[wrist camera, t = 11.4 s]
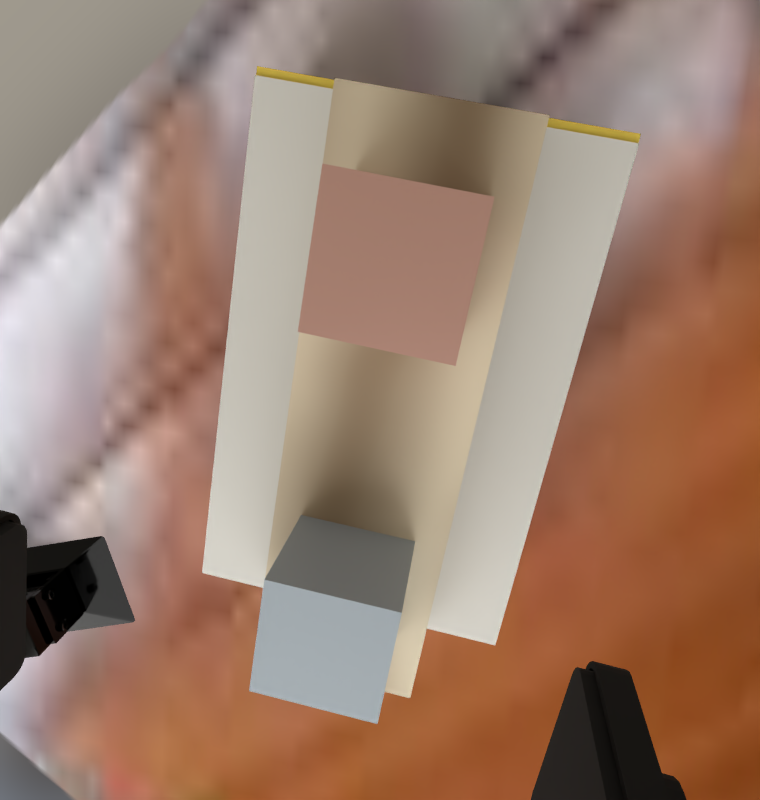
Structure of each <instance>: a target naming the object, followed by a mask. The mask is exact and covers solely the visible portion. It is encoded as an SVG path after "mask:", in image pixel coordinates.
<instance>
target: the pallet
mask: <svg viewBox="0 0 760 800" xmlns="http://www.w3.org/2000/svg"><path fill="white" fill-rule="evenodd" d="M549 116H550V115H546V114H541V113H535V112H529V111H523V110H517V109H512V108H506V107H500V106H494V105H489V104H483V103H477V102H471V101H465V100H460V99H454V98H448V97H442V96H437V95H431V94H425V93H419V92H413V91H408V90H402V89H396V88H390V87H385V86H379V85H373V84H367V83H361V82H356V81H350V80H344V79H338V78H334V86H333V93H332V100H331V107H330V114H329V122H328V129H327V136H326V143H325V150H324V158H323V164H328V165H333V166H338V167H343V168H348V169H353V170H359V171H364V172H369V173H374V174H379V175H384V176H390V177H395V178H400V179H405V180H410V181H415V182H421V183H426V184H431V185H436V186H441V187H446V188H452V189H457V190H462V191H467V192H472V193H477V194H483V195H488V196H493V197H494V202H493V206H492V210H491V215H490V219H489V223H488V228H487V232H486V236H485V241H484V245H483V249H482V254H481V258H480V262H479V267H478V271H477V275H476V280H475V284H474V288H473V293H472V297H471V302H470V306H469V310H468V315H467V319H466V323H465V328H464V332H463V336H462V341H461V345H460V349H459V354H458V358H457V362H456V366H453V365H449V364H444V363H439V362H435V361H430V360H425V359H421V358H416V357H412V356H407V355H402V354H398V353H393V352H388V351H384V350H379V349H375V348H370V347H365V346H361V345H356V344H352V343H347V342H342V341H338V340H333V339H328V338H324V337H319V336H315V335H310V334H305V333H301V332H299V337H298V345H297V352H296V359H295V366H294V373H293V381H292V388H291V395H290V402H289V409H288V417H287V424H286V431H285V438H284V445H283V453H282V460H281V467H280V474H279V481H278V489H277V496H276V503H275V510H274V517H273V525H272V532H271V539H270V546H269V553H268V561H267V568H266V575H265V578H266V576H267V574H268V572H269V571H270V569H271V567H272V565H273V564H274V562H275V560H276V558H277V557H278V555H279V553H280V551H281V550H282V548H283V546H284V544H285V542H286V541H287V539H288V537H289V535H290V534H291V532H292V530H293V528H294V527H295V525H296V523H297V521H298V520H299V518H300V516H301V515H304V516H308V517H312V518H317V519H321V520H325V521H330V522H334V523H338V524H343V525H347V526H351V527H356V528H360V529H364V530H368V531H373V532H377V533H381V534H386V535H390V536H394V537H399V538H403V539H407V540H412V541H415V545H414V551H413V556H412V561H411V567H410V572H409V577H408V583H407V588H406V593H405V599H404V604H403V609H402V614H401V619H400V623H399V628H398V632H397V637H396V642H395V646H394V651H393V655H392V660H391V664H390V669H389V673H388V678H387V682H386V687H385V692H388V693H392V694H396V695H400V696H403V697H407V698H410V696H411V692H412V688H413V684H414V680H415V675H416V671H417V667H418V663H419V659H420V655H421V650H422V646H423V642H424V638H425V634H426V630H427V625H428V621H429V617H430V613H431V609H432V604H433V600H434V596H435V592H436V588H437V584H438V579H439V575H440V571H441V567H442V563H443V559H444V554H445V550H446V546H447V542H448V538H449V533H450V529H451V525H452V521H453V517H454V513H455V508H456V504H457V500H458V496H459V492H460V488H461V483H462V479H463V475H464V471H465V467H466V462H467V458H468V454H469V450H470V446H471V442H472V437H473V433H474V429H475V425H476V421H477V417H478V412H479V408H480V404H481V400H482V396H483V391H484V387H485V383H486V379H487V375H488V371H489V366H490V362H491V358H492V354H493V350H494V346H495V341H496V337H497V333H498V329H499V325H500V320H501V316H502V312H503V308H504V304H505V300H506V295H507V291H508V287H509V283H510V279H511V275H512V270H513V266H514V262H515V258H516V254H517V249H518V245H519V241H520V237H521V233H522V229H523V224H524V220H525V216H526V212H527V208H528V204H529V199H530V195H531V191H532V187H533V183H534V178H535V174H536V170H537V166H538V162H539V158H540V153H541V149H542V145H543V141H544V137H545V133H546V128H547V124H548V120H549Z"/></svg>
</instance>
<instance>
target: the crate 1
mask: <svg viewBox="0 0 760 800" xmlns="http://www.w3.org/2000/svg"><path fill="white" fill-rule="evenodd" d="M493 202H494V197H493V196H488V195H483V194H477V193H472V192H467V191H462V190H457V189H452V188H446V187H441V186H436V185H431V184H426V183H421V182H415V181H410V180H405V179H400V178H395V177H390V176H384V175H379V174H374V173H369V172H364V171H359V170H353V169H348V168H343V167H338V166H333V165H328V164H322V169H321V176H320V183H319V190H318V196H317V203H316V210H315V217H314V224H313V231H312V238H311V244H310V251H309V258H308V265H307V272H306V279H305V286H304V292H303V299H302V306H301V313H300V320H299V327H298V332H301V333H305V334H310V335H315V336H319V337H324V338H328V339H333V340H338V341H342V342H347V343H352V344H356V345H361V346H365V347H370V348H375V349H379V350H384V351H388V352H393V353H398V354H402V355H407V356H412V357H416V358H421V359H425V360H430V361H435V362H439V363H444V364H449V365H453V366H456V362H457V358H458V354H459V349H460V345H461V341H462V336H463V332H464V328H465V323H466V319H467V315H468V310H469V306H470V302H471V297H472V293H473V288H474V284H475V280H476V275H477V271H478V267H479V262H480V258H481V254H482V249H483V245H484V241H485V236H486V232H487V228H488V223H489V219H490V215H491V210H492V206H493Z"/></svg>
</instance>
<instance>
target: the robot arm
mask: <svg viewBox="0 0 760 800" xmlns="http://www.w3.org/2000/svg"><path fill="white" fill-rule="evenodd" d="M26 579H27V530H26V528H25V526H23V525H21V522H20V519H19V517H18V516H17V515H15V514H13V513H9V512H5V511H1V510H0V690H1V689H2V688H3V687H4V686H5V685H6V684H7V683H8V682H10V681H11V680H12V679H13V678H14V676H15V675H16V674H17V673H18V671H19V670H20V668H21V666H22V664H23V662H24V658H25V653H26ZM531 800H686V797H685V794H684V792H683V789H682V787H681V785H680V783H679V781H678V780H677V779H676V778H675V777H674V776H670V775H666V774H663V773H661V769H660V766H659V763H658V760H657V757H656V753H655V750H654V747H653V744H652V741H651V737H650V734H649V731H648V728H647V724H646V721H645V718H644V715H643V712H642V708H641V705H640V702H639V699H638V696H637V692H636V689H635V686H634V683H633V679H632V676H631V674H630V672H629V671H627V670H625V669H621V668H617V667H613V666H609V665H606V664H602V663H598V662H594V661H591V662H589V664H588V665H587V667H586V669H582V668H578V667H577V668H575V670H574V672H573V674H572V677H571V680H570V683H569V686H568V689H567V692H566V695H565V698H564V701H563V704H562V707H561V710H560V713H559V716H558V719H557V722H556V724H555V727H554V730H553V733H552V736H551V739H550V742H549V745H548V748H547V751H546V754H545V757H544V760H543V763H542V766H541V769H540V772H539V775H538V778H537V781H536V784H535V787H534V790H533V793H532V797H531Z"/></svg>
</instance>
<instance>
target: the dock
mask: <svg viewBox="0 0 760 800" xmlns="http://www.w3.org/2000/svg"><path fill="white" fill-rule="evenodd" d="M333 86H334V80H332V79H327V78H321V77H315V76H310V75H304V74H298V73H293V72H287V71H281V70H276V69H270V68H264V67H259V66H257V73H256V75H255V78H254V87H253V97H252V106H251V116H250V125H249V135H248V144H247V154H246V163H245V173H244V182H243V191H242V201H241V210H240V220H239V229H238V239H237V248H236V258H235V267H234V277H233V286H232V296H231V305H230V315H229V324H228V334H227V343H226V352H225V362H224V371H223V381H222V390H221V400H220V409H219V419H218V428H217V438H216V447H215V457H214V466H213V476H212V485H211V495H210V504H209V513H208V523H207V532H206V542H205V551H204V561H203V570H202V573H205V574H209V575H213V576H217V577H221V578H225V579H230V580H234V581H238V582H242V583H246V584H250V585H254V586H258V587H262V588H263V586H264V579H265V575H266V568H267V561H268V553H269V546H270V539H271V532H272V525H273V517H274V510H275V503H276V496H277V489H278V481H279V474H280V467H281V460H282V453H283V445H284V438H285V431H286V424H287V417H288V409H289V402H290V395H291V388H292V381H293V373H294V366H295V359H296V352H297V345H298V337H299V332H298V327H299V320H300V313H301V306H302V299H303V292H304V286H305V279H306V272H307V265H308V258H309V251H310V244H311V238H312V231H313V224H314V217H315V210H316V203H317V196H318V190H319V183H320V176H321V169H322V164H323V158H324V150H325V143H326V136H327V129H328V122H329V114H330V107H331V100H332V93H333ZM640 135H641V134H638V133H632V132H627V131H621V130H615V129H610V128H604V127H598V126H593V125H587V124H581V123H576V122H570V121H564V120H559V119H553V118H549V120H548V124H547V128H546V133H545V137H544V141H543V145H542V149H541V153H540V158H539V162H538V166H537V170H536V174H535V178H534V183H533V187H532V191H531V195H530V199H529V204H528V208H527V212H526V216H525V220H524V224H523V229H522V233H521V237H520V241H519V245H518V249H517V254H516V258H515V262H514V266H513V270H512V275H511V279H510V283H509V287H508V291H507V295H506V300H505V304H504V308H503V312H502V316H501V320H500V325H499V329H498V333H497V337H496V341H495V346H494V350H493V354H492V358H491V362H490V366H489V371H488V375H487V379H486V383H485V387H484V391H483V396H482V400H481V404H480V408H479V412H478V417H477V421H476V425H475V429H474V433H473V437H472V442H471V446H470V450H469V454H468V458H467V462H466V467H465V471H464V475H463V479H462V483H461V488H460V492H459V496H458V500H457V504H456V508H455V513H454V517H453V521H452V525H451V529H450V533H449V538H448V542H447V546H446V550H445V554H444V559H443V563H442V567H441V571H440V575H439V579H438V584H437V588H436V592H435V596H434V600H433V604H432V609H431V613H430V617H429V621H428V625H427V629H431V630H435V631H439V632H443V633H448V634H452V635H456V636H460V637H464V638H468V639H472V640H476V641H480V642H484V643H488V644H492V645H495V644H496V641H497V637H498V634H499V630H500V627H501V623H502V620H503V616H504V613H505V609H506V606H507V602H508V599H509V595H510V592H511V588H512V585H513V582H514V578H515V575H516V571H517V568H518V564H519V561H520V557H521V554H522V550H523V547H524V543H525V540H526V536H527V533H528V529H529V526H530V522H531V519H532V515H533V512H534V508H535V505H536V501H537V498H538V494H539V491H540V487H541V484H542V480H543V477H544V473H545V470H546V466H547V463H548V459H549V456H550V453H551V449H552V446H553V442H554V439H555V435H556V432H557V428H558V425H559V421H560V418H561V414H562V411H563V407H564V404H565V400H566V397H567V393H568V390H569V386H570V383H571V379H572V376H573V372H574V369H575V365H576V362H577V358H578V355H579V351H580V348H581V344H582V341H583V337H584V334H585V330H586V327H587V324H588V320H589V317H590V313H591V310H592V306H593V303H594V299H595V296H596V292H597V289H598V285H599V282H600V278H601V275H602V271H603V268H604V264H605V261H606V257H607V254H608V250H609V247H610V243H611V240H612V236H613V233H614V229H615V226H616V222H617V219H618V215H619V212H620V208H621V205H622V202H623V198H624V195H625V191H626V188H627V184H628V181H629V177H630V174H631V170H632V167H633V163H634V160H635V156H636V153H637V149H638V146H639V143H638V142H639V139H640Z"/></svg>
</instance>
